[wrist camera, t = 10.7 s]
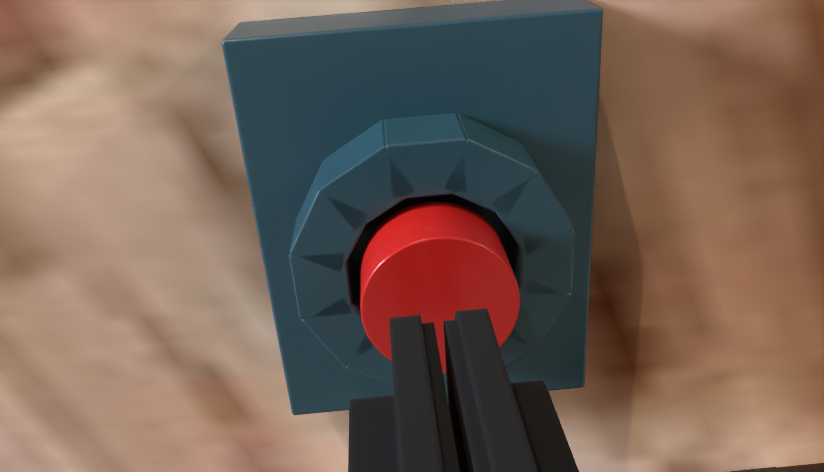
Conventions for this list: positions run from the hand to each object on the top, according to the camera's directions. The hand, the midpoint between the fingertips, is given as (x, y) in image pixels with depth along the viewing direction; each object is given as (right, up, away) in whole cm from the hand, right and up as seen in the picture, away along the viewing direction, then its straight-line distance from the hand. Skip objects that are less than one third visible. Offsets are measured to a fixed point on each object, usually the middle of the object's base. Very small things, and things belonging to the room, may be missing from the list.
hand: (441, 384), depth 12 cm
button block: (0, +3, +7) cm, 8 cm away
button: (0, +2, +3) cm, 4 cm away
